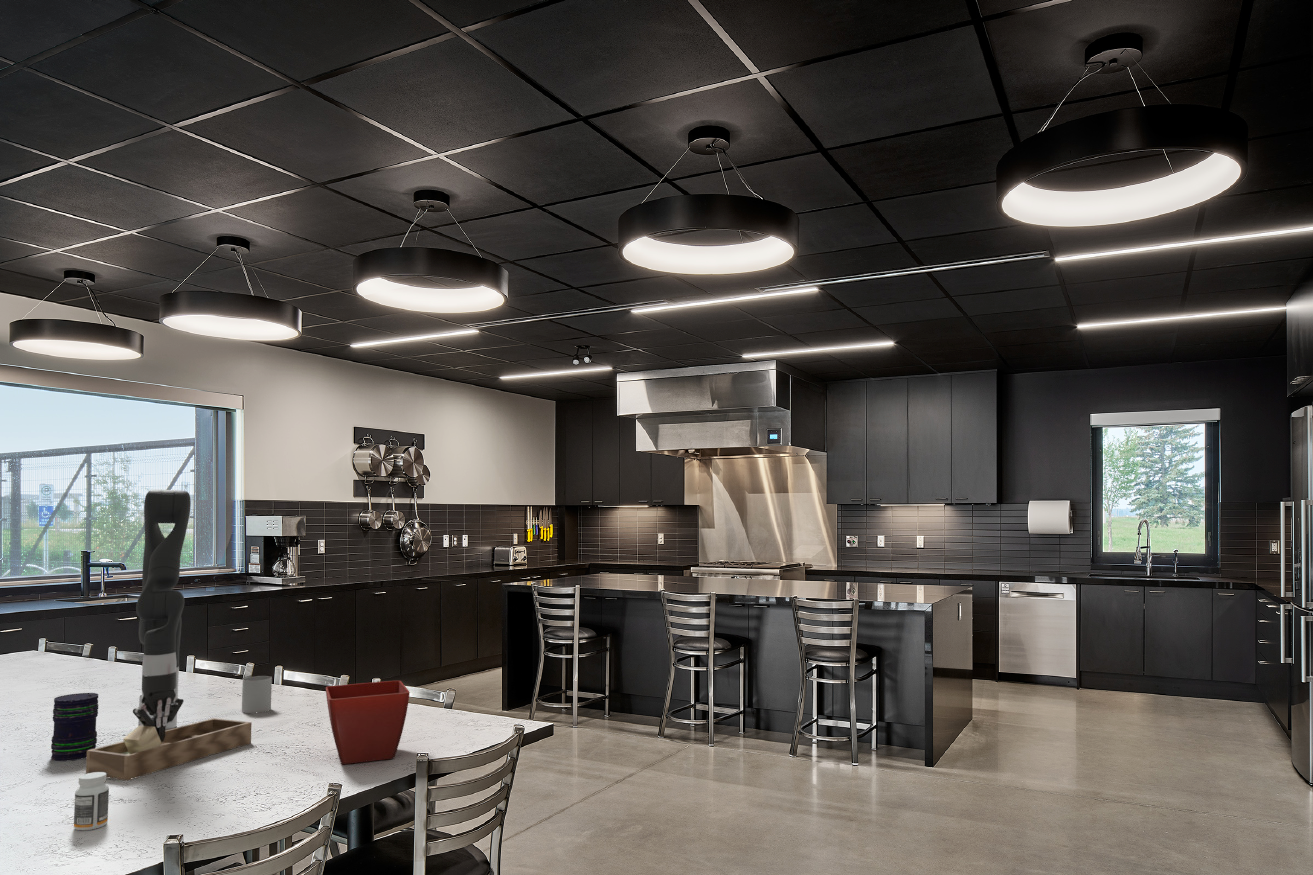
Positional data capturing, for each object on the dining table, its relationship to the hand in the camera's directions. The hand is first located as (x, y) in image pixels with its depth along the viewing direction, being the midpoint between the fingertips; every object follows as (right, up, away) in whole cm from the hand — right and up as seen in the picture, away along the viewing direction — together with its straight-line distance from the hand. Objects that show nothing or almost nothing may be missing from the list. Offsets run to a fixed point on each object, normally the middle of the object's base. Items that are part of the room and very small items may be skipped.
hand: (157, 741), depth 220 cm
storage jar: (-26, -6, +7) cm, 27 cm away
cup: (-2, -11, +59) cm, 60 cm away
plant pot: (+50, -6, +5) cm, 51 cm away
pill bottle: (+12, -1, -45) cm, 47 cm away
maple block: (-1, -1, -3) cm, 3 cm away
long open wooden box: (+1, -6, +4) cm, 7 cm away
